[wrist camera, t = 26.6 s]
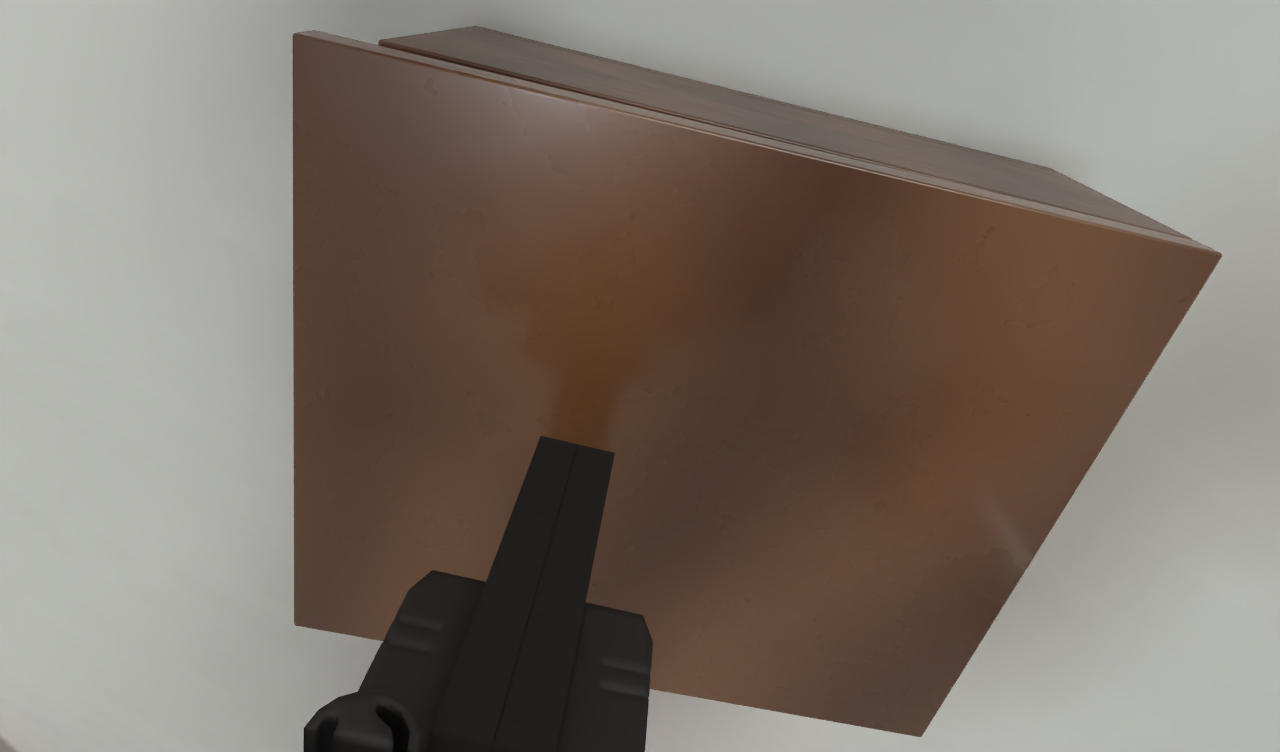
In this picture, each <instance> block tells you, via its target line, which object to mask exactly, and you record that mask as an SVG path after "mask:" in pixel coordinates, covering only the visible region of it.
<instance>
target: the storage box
mask: <svg viewBox="0 0 1280 752" xmlns="http://www.w3.org/2000/svg"><path fill="white" fill-rule="evenodd" d="M379 46H382V47H386V48H390V49H395V50H399V51H403V52H407V53H411V54H416V55H420V56H424V57H428V58H432V59H436V60H441V61H445V62H449V63H453V64H457V65H462V66H466V67H470V68H474V69H478V70H483V71H487V72H491V73H495V74H499V75H503V76H508V77H512V78H516V79H520V80H524V81H529V82H533V83H537V84H541V85H545V86H550V87H554V88H558V89H562V90H566V91H570V92H575V93H579V94H583V95H587V96H591V97H596V98H600V99H604V100H608V101H612V102H616V103H621V104H625V105H629V106H633V107H637V108H642V109H646V110H650V111H654V112H658V113H663V114H667V115H671V116H675V117H679V118H683V119H688V120H692V121H696V122H700V123H704V124H709V125H713V126H717V127H721V128H725V129H730V130H734V131H738V132H742V133H746V134H750V135H755V136H759V137H763V138H767V139H771V140H776V141H780V142H784V143H788V144H792V145H797V146H801V147H805V148H809V149H813V150H817V151H822V152H826V153H830V154H834V155H838V156H843V157H847V158H851V159H855V160H859V161H864V162H868V163H872V164H876V165H880V166H884V167H889V168H893V169H897V170H901V171H905V172H910V173H914V174H918V175H922V176H926V177H930V178H935V179H939V180H943V181H947V182H951V183H956V184H960V185H964V186H968V187H972V188H977V189H981V190H985V191H989V192H993V193H997V194H1002V195H1006V196H1010V197H1014V198H1018V199H1023V200H1027V201H1031V202H1035V203H1039V204H1044V205H1048V206H1052V207H1056V208H1060V209H1064V210H1069V211H1073V212H1077V213H1081V214H1085V215H1090V216H1094V217H1098V218H1102V219H1106V220H1111V221H1115V222H1119V223H1123V224H1127V225H1131V226H1136V227H1140V228H1144V229H1148V230H1152V231H1157V232H1161V233H1165V234H1169V235H1173V236H1178V237H1182V238H1186V239H1190V240H1192V239H1191V238H1189V237H1187V236H1185V235H1183V234H1181V233H1179V232H1177V231H1175V230H1173V229H1171V228H1169V227H1167V226H1165V225H1163V224H1161V223H1159V222H1157V221H1155V220H1153V219H1151V218H1149V217H1147V216H1145V215H1143V214H1141V213H1139V212H1137V211H1135V210H1133V209H1131V208H1129V207H1127V206H1125V205H1123V204H1121V203H1119V202H1117V201H1115V200H1113V199H1111V198H1109V197H1107V196H1105V195H1103V194H1101V193H1099V192H1097V191H1095V190H1093V189H1091V188H1089V187H1087V186H1085V185H1083V184H1081V183H1079V182H1077V181H1075V180H1073V179H1071V178H1069V177H1067V176H1065V175H1063V174H1060V173H1059V172H1057V171H1055V170H1053V169H1051V168H1047V167H1043V166H1039V165H1035V164H1031V163H1027V162H1023V161H1019V160H1015V159H1011V158H1007V157H1002V156H998V155H994V154H990V153H986V152H982V151H978V150H974V149H970V148H966V147H962V146H958V145H954V144H950V143H946V142H942V141H938V140H934V139H930V138H926V137H922V136H918V135H914V134H910V133H905V132H901V131H897V130H893V129H889V128H885V127H881V126H877V125H873V124H869V123H865V122H861V121H857V120H853V119H849V118H845V117H841V116H837V115H833V114H829V113H825V112H821V111H817V110H813V109H809V108H804V107H800V106H796V105H792V104H788V103H784V102H780V101H776V100H772V99H768V98H764V97H760V96H756V95H752V94H748V93H744V92H740V91H736V90H732V89H728V88H724V87H720V86H716V85H712V84H707V83H703V82H699V81H695V80H691V79H687V78H683V77H679V76H675V75H671V74H667V73H663V72H659V71H655V70H651V69H647V68H643V67H639V66H635V65H631V64H627V63H623V62H619V61H615V60H610V59H606V58H602V57H598V56H594V55H590V54H586V53H582V52H578V51H574V50H570V49H566V48H562V47H558V46H554V45H550V44H546V43H542V42H538V41H534V40H530V39H526V38H522V37H518V36H514V35H509V34H505V33H501V32H497V31H493V30H489V29H485V28H481V27H477V26H473V27H465V28H458V29H451V30H444V31H438V32H431V33H424V34H417V35H411V36H404V37H397V38H391V39H384V40H380V41H379Z"/></svg>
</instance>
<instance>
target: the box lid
mask: <svg viewBox="0 0 1280 752" xmlns="http://www.w3.org/2000/svg"><path fill="white" fill-rule="evenodd" d="M1221 257H1222V254H1221V253H1220V252H1218V251H1215V250H1213V249H1211V248H1209V247H1207V246H1205V245H1203V244H1201V243H1199V242H1197V241H1194V240H1190V239H1186V238H1182V237H1178V236H1173V235H1169V234H1165V233H1161V232H1157V231H1152V230H1148V229H1144V228H1140V227H1136V226H1131V225H1127V224H1123V223H1119V222H1115V221H1111V220H1106V219H1102V218H1098V217H1094V216H1090V215H1085V214H1081V213H1077V212H1073V211H1069V210H1064V209H1060V208H1056V207H1052V206H1048V205H1044V204H1039V203H1035V202H1031V201H1027V200H1023V199H1018V198H1014V197H1010V196H1006V195H1002V194H997V193H993V192H989V191H985V190H981V189H977V188H972V187H968V186H964V185H960V184H956V183H951V182H947V181H943V180H939V179H935V178H930V177H926V176H922V175H918V174H914V173H910V172H905V171H901V170H897V169H893V168H889V167H884V166H880V165H876V164H872V163H868V162H864V161H859V160H855V159H851V158H847V157H843V156H838V155H834V154H830V153H826V152H822V151H817V150H813V149H809V148H805V147H801V146H797V145H792V144H788V143H784V142H780V141H776V140H771V139H767V138H763V137H759V136H755V135H750V134H746V133H742V132H738V131H734V130H730V129H725V128H721V127H717V126H713V125H709V124H704V123H700V122H696V121H692V120H688V119H683V118H679V117H675V116H671V115H667V114H663V113H658V112H654V111H650V110H646V109H642V108H637V107H633V106H629V105H625V104H621V103H616V102H612V101H608V100H604V99H600V98H596V97H591V96H587V95H583V94H579V93H575V92H570V91H566V90H562V89H558V88H554V87H550V86H545V85H541V84H537V83H533V82H529V81H524V80H520V79H516V78H512V77H508V76H503V75H499V74H495V73H491V72H487V71H483V70H478V69H474V68H470V67H466V66H462V65H457V64H453V63H449V62H445V61H441V60H436V59H432V58H428V57H424V56H420V55H416V54H411V53H407V52H403V51H399V50H395V49H390V48H386V47H382V46H378V45H374V44H369V43H365V42H361V41H357V40H353V39H349V38H344V37H340V36H336V35H332V34H328V33H323V32H319V31H315V30H313V31H306V32H298V33H294V34H293V313H294V624H295V625H296V626H302V627H307V628H313V629H318V630H324V631H330V632H335V633H341V634H346V635H352V636H357V637H363V638H369V639H374V640H380V641H384V639H385V636H386V634H387V632H388V630H389V628H390V626H391V624H392V622H393V621H394V620H395V616H396V614H397V612H398V610H399V608H400V606H401V604H402V602H403V600H404V598H405V596H406V594H407V592H408V590H409V589H410V588H411V587H412V586H414V585H415V584H416V583H417V582H418V581H420V580H421V579H422V578H423V577H424V576H426V575H427V574H428V573H429V572H430V571H432V570H435V571H440V572H444V573H449V574H453V575H458V576H462V577H467V578H471V579H476V580H480V581H485V582H486V580H487V578H488V575H489V572H490V570H491V567H492V564H493V562H494V559H495V556H496V554H497V551H498V548H499V546H500V543H501V540H502V538H503V535H504V532H505V530H506V527H507V524H508V522H509V519H510V516H511V514H512V511H513V508H514V506H515V503H516V500H517V497H518V495H519V492H520V489H521V487H522V484H523V481H524V479H525V476H526V473H527V471H528V468H529V465H530V463H531V460H532V457H533V455H534V452H535V449H536V447H537V444H538V441H539V439H540V436H544V437H549V438H553V439H557V440H562V441H566V442H570V443H575V444H579V445H583V446H588V447H592V448H597V449H601V450H605V451H610V452H614V453H615V455H614V460H613V465H612V470H611V475H610V480H609V486H608V491H607V496H606V501H605V506H604V511H603V516H602V521H601V526H600V531H599V537H598V542H597V547H596V552H595V557H594V562H593V567H592V572H591V577H590V583H589V588H588V593H587V598H586V602H587V603H592V604H596V605H601V606H605V607H610V608H614V609H619V610H623V611H628V612H632V613H637V614H641V615H643V617H644V619H645V622H646V624H647V627H648V630H649V632H650V635H651V638H652V640H653V651H652V664H651V672H650V676H651V677H650V689H654V690H660V691H665V692H671V693H676V694H682V695H687V696H693V697H699V698H704V699H710V700H715V701H721V702H727V703H732V704H738V705H743V706H749V707H755V708H760V709H766V710H771V711H777V712H783V713H788V714H794V715H799V716H805V717H811V718H816V719H822V720H827V721H833V722H838V723H844V724H850V725H855V726H861V727H866V728H872V729H878V730H883V731H889V732H894V733H900V734H906V735H911V736H917V737H921V736H922V735H923V733H924V732H925V730H926V729H927V727H928V725H929V724H930V722H931V721H932V719H933V717H934V716H935V714H936V713H937V711H938V709H939V708H940V706H941V705H942V703H943V701H944V700H945V698H946V697H947V695H948V693H949V692H950V690H951V689H952V687H953V685H954V684H955V682H956V681H957V679H958V677H959V676H960V674H961V673H962V671H963V669H964V668H965V666H966V665H967V663H968V661H969V660H970V658H971V657H972V655H973V653H974V652H975V650H976V649H977V647H978V645H979V644H980V642H981V641H982V639H983V637H984V636H985V634H986V633H987V631H988V630H989V628H990V626H991V625H992V623H993V622H994V620H995V618H996V617H997V615H998V614H999V612H1000V610H1001V609H1002V607H1003V606H1004V604H1005V602H1006V601H1007V599H1008V598H1009V596H1010V594H1011V593H1012V591H1013V590H1014V588H1015V586H1016V585H1017V583H1018V582H1019V580H1020V578H1021V577H1022V575H1023V574H1024V572H1025V570H1026V569H1027V567H1028V566H1029V564H1030V562H1031V561H1032V559H1033V558H1034V556H1035V554H1036V553H1037V551H1038V550H1039V548H1040V546H1041V545H1042V543H1043V542H1044V540H1045V538H1046V537H1047V535H1048V534H1049V532H1050V530H1051V529H1052V527H1053V526H1054V524H1055V522H1056V521H1057V519H1058V518H1059V516H1060V514H1061V513H1062V511H1063V510H1064V508H1065V506H1066V505H1067V503H1068V502H1069V500H1070V498H1071V497H1072V495H1073V494H1074V492H1075V490H1076V489H1077V487H1078V486H1079V484H1080V482H1081V481H1082V479H1083V478H1084V476H1085V474H1086V473H1087V471H1088V470H1089V468H1090V467H1091V465H1092V463H1093V462H1094V460H1095V459H1096V457H1097V455H1098V454H1099V452H1100V451H1101V449H1102V447H1103V446H1104V444H1105V443H1106V441H1107V439H1108V438H1109V436H1110V435H1111V433H1112V431H1113V430H1114V428H1115V427H1116V425H1117V423H1118V422H1119V420H1120V419H1121V417H1122V415H1123V414H1124V412H1125V411H1126V409H1127V407H1128V406H1129V404H1130V403H1131V401H1132V399H1133V398H1134V396H1135V395H1136V393H1137V391H1138V390H1139V388H1140V387H1141V385H1142V383H1143V382H1144V380H1145V379H1146V377H1147V375H1148V374H1149V372H1150V371H1151V369H1152V367H1153V366H1154V364H1155V363H1156V361H1157V359H1158V358H1159V356H1160V355H1161V353H1162V351H1163V350H1164V348H1165V347H1166V345H1167V343H1168V342H1169V340H1170V339H1171V337H1172V335H1173V334H1174V332H1175V331H1176V329H1177V327H1178V326H1179V324H1180V323H1181V321H1182V319H1183V318H1184V316H1185V315H1186V313H1187V311H1188V310H1189V308H1190V307H1191V305H1192V304H1193V302H1194V300H1195V299H1196V297H1197V296H1198V294H1199V292H1200V291H1201V289H1202V288H1203V286H1204V284H1205V283H1206V281H1207V280H1208V278H1209V276H1210V275H1211V273H1212V272H1213V270H1214V268H1215V267H1216V265H1217V264H1218V262H1219V260H1220V259H1221Z"/></svg>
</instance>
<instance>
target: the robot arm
mask: <svg viewBox="0 0 1280 752" xmlns="http://www.w3.org/2000/svg"><path fill="white" fill-rule="evenodd" d="M614 455H615V453H614V452H610V451H605V450H601V449H597V448H592V447H588V446H583V445H579V444H575V443H570V442H566V441H562V440H557V439H553V438H549V437H544V436H540V439H539V441H538V444H537V447H536V449H535V452H534V455H533V457H532V460H531V463H530V465H529V468H528V471H527V473H526V476H525V479H524V481H523V484H522V487H521V489H520V492H519V495H518V497H517V500H516V503H515V506H514V508H513V511H512V514H511V516H510V519H509V522H508V524H507V527H506V530H505V532H504V535H503V538H502V540H501V543H500V546H499V548H498V551H497V554H496V556H495V559H494V562H493V564H492V567H491V570H490V572H489V575H488V578H487V580H486V582H485V581H480V580H476V579H471V578H467V577H462V576H458V575H453V574H449V573H444V572H440V571H435V570H432V571H430V572H429V573H428V574H427V575H426V576H424V577H423V578H422V579H421V580H420V581H418V582H417V583H416V584H415V585H414V586H412V587H411V588H410V589H409V590H408V592H407V594H406V596H405V598H404V600H403V602H402V604H401V606H400V608H399V610H398V612H397V614H396V616H395V620H394V621H393V622H392V624H391V626H390V628H389V630H388V632H387V634H386V636H385V639H384V642H383V643H382V644H381V646H380V648H379V650H378V652H377V654H376V656H375V658H374V660H373V662H372V664H371V666H370V668H369V670H368V672H367V674H366V676H365V678H364V680H363V682H362V684H361V686H360V688H359V690H358V692H355V693H352V694H348V695H344V696H341V697H338V698H336V699H335V700H333V701H332V702H330V703H329V704H327V705H325V706H324V707H322V708H321V709H319V710H318V711H317V712H316V714H315V715H314V716H313V717H312V719H311V720H310V721H309V722H308V724H307V725H306V726H305V727H304V752H645V741H646V728H647V715H648V702H649V700H648V697H649V690H650V677H651V676H650V672H651V664H652V651H653V640H652V638H651V635H650V632H649V630H648V627H647V624H646V622H645V619H644V617H643V615H641V614H637V613H632V612H628V611H623V610H619V609H614V608H610V607H605V606H601V605H596V604H592V603H587V602H586V598H587V593H588V588H589V583H590V577H591V572H592V567H593V562H594V557H595V552H596V547H597V542H598V537H599V531H600V526H601V521H602V516H603V511H604V506H605V501H606V496H607V491H608V486H609V480H610V475H611V470H612V465H613V460H614Z"/></svg>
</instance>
